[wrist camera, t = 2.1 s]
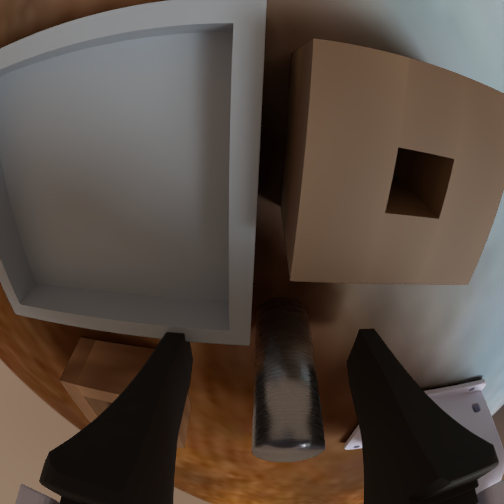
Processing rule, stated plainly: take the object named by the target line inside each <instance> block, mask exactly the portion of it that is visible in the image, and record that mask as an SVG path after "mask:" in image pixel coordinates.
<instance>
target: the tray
mask: <svg viewBox="0 0 504 504" xmlns="http://www.w3.org/2000/svg"><path fill="white" fill-rule="evenodd" d="M266 7H267V0H168V1H160V2H153V3H146V4H140V5H135V6H129V7H124V8H119V9H115V10H110V11H106V12H102V13H98V14H94V15H90V16H86V17H83V18H79V19H76V20H73V21H69V22H66V23H63V24H60V25H57V26H54V27H51V28H48V29H46V30H43V31H40V32H38V33H35V34H33V35H30V36H28V37H25V38H23V39H20V40H18V41H16V42H14V43H11V44H9V45H7V46H5V47H3V48H1V49H0V282H1V284H2V287H3V289H4V291H5V293H6V295H7V298H8V300H9V302H10V304H11V306H12V308H13V310H14V312H15V314H17V315H21V316H26V317H30V318H35V319H39V320H44V321H49V322H54V323H59V324H65V325H70V326H76V327H81V328H87V329H93V330H99V331H106V332H113V333H120V334H127V335H134V336H142V337H150V338H159V339H162V337H163V336H164V334H165V333H166V332H175V333H184V334H185V340H186V341H189V342H201V343H214V344H229V345H247V346H250V331H251V312H252V293H253V273H254V254H255V234H256V214H257V195H258V174H259V154H260V134H261V113H262V92H263V71H264V50H265V28H266Z"/></svg>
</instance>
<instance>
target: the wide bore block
mask: <svg viewBox="0 0 504 504" xmlns="http://www.w3.org/2000/svg"><path fill="white" fill-rule="evenodd" d="M154 350H155V349H154V348H146V347H139V346H131V345H124V344H118V343H111V342H105V341H99V340H93V339H88V338H82V337H81V338H80V340H79V342H78V344H77V345H76V347H75V349H74V351H73V353H72V355H71V357H70V360H69V362H68V364H67V366H66V368H65V370H64V372H63V374H62V376H61V378H60V382H61V383H62V385H63V386H64V388H65V389H66V391H67V392H68V393H69V395H70V396H71V398H72V399H73V400H74V402H75V403H76V405H77V406H78V407H79V409H80V410H81V411H82V413H83V414H84V415H85V417H86V418H87V419H88V420H89V422H90V423H91V422H92V421H93V420H95V419H96V418H97V417H98V416H99V415H100V414H101V413H102V412H103V411H104V410H105V409H106V408H107V407H108V406H109V405H111V403H112V402H113V401H114V400H115V399H116V398H117V397H118V396H119V395H120V394H121V393H122V392H123V391H124V389H125V388H126V387H127V386H128V385H129V383H130V382H131V381H132V380H133V378H134V377H135V376H136V375H137V373H138V372H139V371H140V370H141V368H142V367H143V366H144V364H145V363H146V361H147V360H148V358H149V357H150V356H151V354H152V353H153V351H154ZM190 410H191V404H190V400H189V396H188V394H187V399H186V403H185V407H184V412H183V416H182V420H181V425H180V429H179V435H178V441H177V447H179V448H184V447H185V441H186V434H187V428H188V422H189V416H190Z"/></svg>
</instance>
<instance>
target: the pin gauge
mask: <svg viewBox="0 0 504 504" xmlns="http://www.w3.org/2000/svg"><path fill="white" fill-rule="evenodd" d="M324 449H325V440H324V431H323V422H322V414H321V405H320V397H319V389H318V381H317V374H316V366H315V359H314V352H313V345H312V338H311V331H310V325H309V318H308V312H307V310H306V308H305V306H304V305H303V304H302V303H300V302H299V301H296V300H294V299H290V298H276V299H272V300H270V301H267V302H266V303H264V304H263V305H262V306H261V307H260V308H259V309H258V311H257V313H256V324H255V361H254V397H253V431H252V453H253V455H254V456H256V457H257V458H260V459H263V460H267V461H273V462H293V461H300V460H305V459H309V458H312V457H314V456H317V455H319V454H320V453H322V452H323V451H324Z"/></svg>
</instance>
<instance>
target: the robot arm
mask: <svg viewBox="0 0 504 504" xmlns="http://www.w3.org/2000/svg"><path fill="white" fill-rule="evenodd" d="M192 362H193V358H192V352H191V346H190V342H189V341H186V340H185V334H184V333H175V332H166V333H165V334H164V336H163V337H162V339H161V341H160V342H159V344H158V345H157V347H156V348H155V350H154V351H153V353H152V354H151V356H150V357H149V358H148V360H147V361H146V363H145V364H144V366H143V367H142V368H141V370H140V371H139V372H138V373H137V375H136V376H135V377H134V378H133V380H132V381H131V382H130V383H129V385H128V386H127V387H126V388H125V389H124V391H123V392H122V393H121V394H120V395H119V396H118V397H117V398H116V399H115V400H114V401H113V402H112V403H111V405H109V406H108V407H107V408H106V409H105V410H104V411H103V412H102V413H101V414H100V415H99V416H98V417H97V418H96V419H95V420H93V421H92V422H91V423H90V424H88V425H87V426H86V427H85V428H83V429H82V430H81V431H80V432H78V433H77V434H76V435H74V436H73V437H72V438H70V439H69V440H67V441H66V442H64V443H63V444H61V445H60V446H58V447H57V448H55V449H53V450H52V451H50V452H49V454H48V456H47V458H46V460H45V463H44V467H43V470H42V473H41V477H40V480H39V481H40V483H41V484H42V485H43V486H45V487H46V488H48V489H50V490H51V491H53V492H55V493H57V494H59V495H60V496H61V500H60V503H59V502H57V501H56V500H54V499H52V498H50V497H48V496H46V495H44V494H42V493H40V492H38V491H36V490H33V489H31V488H29V487H27V486H25V485H23V484H21V486H20V489H19V492H18V496H17V500H16V504H173V491H174V473H175V460H176V450H177V441H178V435H179V429H180V425H181V420H182V416H183V412H184V407H185V403H186V399H187V394H188V390H189V385H190V379H191V371H192ZM347 368H348V377H349V385H350V389H351V394H352V398H353V402H354V406H355V411H356V415H357V419H358V424H359V425H358V426H357V427H356V429H355V430H354V432H353V433H352V434H351V436H350V437H349V439H348V440H347V441H346V443H345V444H344V449H346V450H350V449H359V448H362V449H363V463H364V504H504V480H501V479H502V476H503V472H504V450H503V446H502V443H501V441H500V438H499V435H498V432H497V430H496V427H495V424H494V421H493V419H492V416H491V414H490V411H489V409H488V406H487V404H486V401H485V399H484V397H483V394H482V392H481V390H482V389H483V388H484V387H485V385H486V382H485V380H484V379H482V380H478V381H473V382H469V383H464V384H459V385H454V386H449V387H444V388H438V389H432V390H426V391H423V390H422V389H421V388H420V387H419V385H418V384H417V383H416V382H415V381H414V380H413V379H412V377H411V376H410V375H409V374H408V373H407V371H406V370H405V369H404V368H403V366H402V365H401V364H400V363H399V361H398V360H397V359H396V357H395V356H394V355H393V353H392V352H391V351H390V349H389V348H388V347H387V345H386V344H385V343H384V341H383V340H382V339H381V337H380V336H379V335H378V333H377V332H376V331H375V330H374V329H359V332H358V335H357V337H356V340H355V342H354V345H353V348H352V350H351V353H350V355H349V358H348V360H347Z"/></svg>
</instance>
